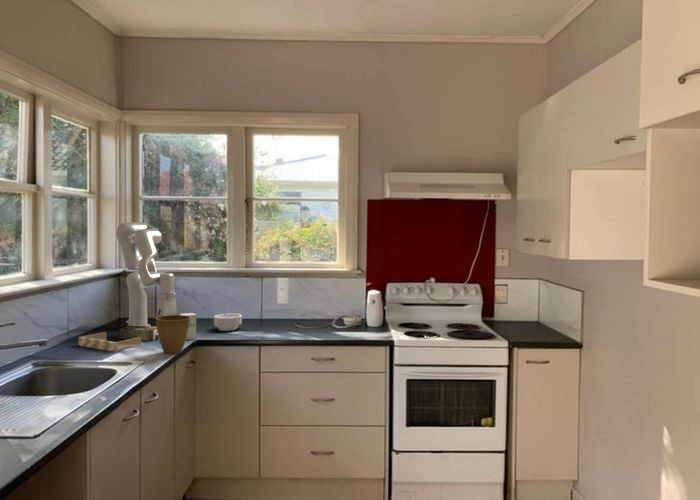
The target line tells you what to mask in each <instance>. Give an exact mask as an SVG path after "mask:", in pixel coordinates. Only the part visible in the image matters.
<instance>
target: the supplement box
mask: <svg viewBox="0 0 700 500" xmlns="http://www.w3.org/2000/svg"><path fill="white" fill-rule="evenodd" d="M178 315H185V316H190V323H189V329H188V333H187V337H186V340H185V341H189V340H196V339H197V314H196V313H194V312H190V313H189V312H188V313H187V312H186V313H179V314H178Z"/></svg>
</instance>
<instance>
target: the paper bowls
mask: <svg viewBox="0 0 700 500" xmlns="http://www.w3.org/2000/svg"><path fill="white" fill-rule="evenodd" d="M242 321H243V315H242V314H241V313H231V312H229V313H220V314H215V315H214V316H213V326H215V327H217V329H218V331H222V332H231V331H232V332H233V331H236V330H238V328H239V326H240V325H242V323H243V322H242Z"/></svg>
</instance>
